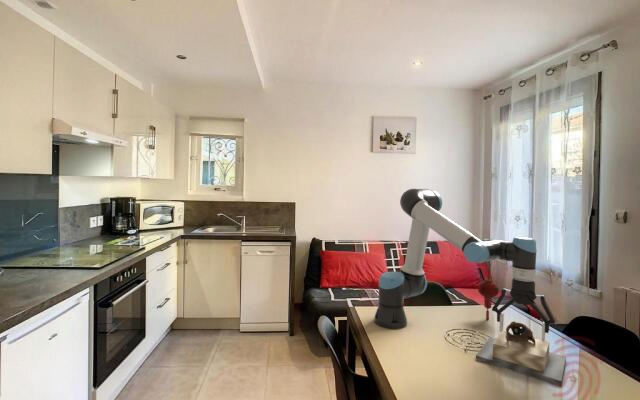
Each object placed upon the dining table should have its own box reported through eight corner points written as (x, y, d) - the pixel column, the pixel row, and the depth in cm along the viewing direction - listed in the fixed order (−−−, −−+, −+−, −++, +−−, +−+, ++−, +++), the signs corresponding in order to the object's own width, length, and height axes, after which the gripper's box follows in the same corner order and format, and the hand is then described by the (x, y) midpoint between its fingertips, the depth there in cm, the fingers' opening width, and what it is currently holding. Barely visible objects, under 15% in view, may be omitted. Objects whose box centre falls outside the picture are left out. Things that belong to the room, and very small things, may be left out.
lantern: (490, 324, 161) (492, 261, 160) (472, 317, 169) (474, 258, 168) (502, 321, 165) (504, 260, 165) (484, 314, 174) (486, 257, 173)
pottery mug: (543, 350, 121) (535, 332, 119) (517, 359, 123) (509, 341, 121) (525, 328, 133) (518, 312, 131) (501, 337, 134) (494, 320, 132)
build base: (475, 359, 126) (476, 342, 125) (490, 340, 143) (490, 325, 142) (561, 385, 109) (561, 365, 109) (565, 360, 126) (566, 343, 126)
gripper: (484, 275, 130) (483, 329, 131) (563, 287, 115) (561, 349, 115) (489, 271, 136) (487, 323, 136) (565, 283, 120) (563, 342, 121)
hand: (521, 335), depth 126 cm, fingers open, 13 cm apart
